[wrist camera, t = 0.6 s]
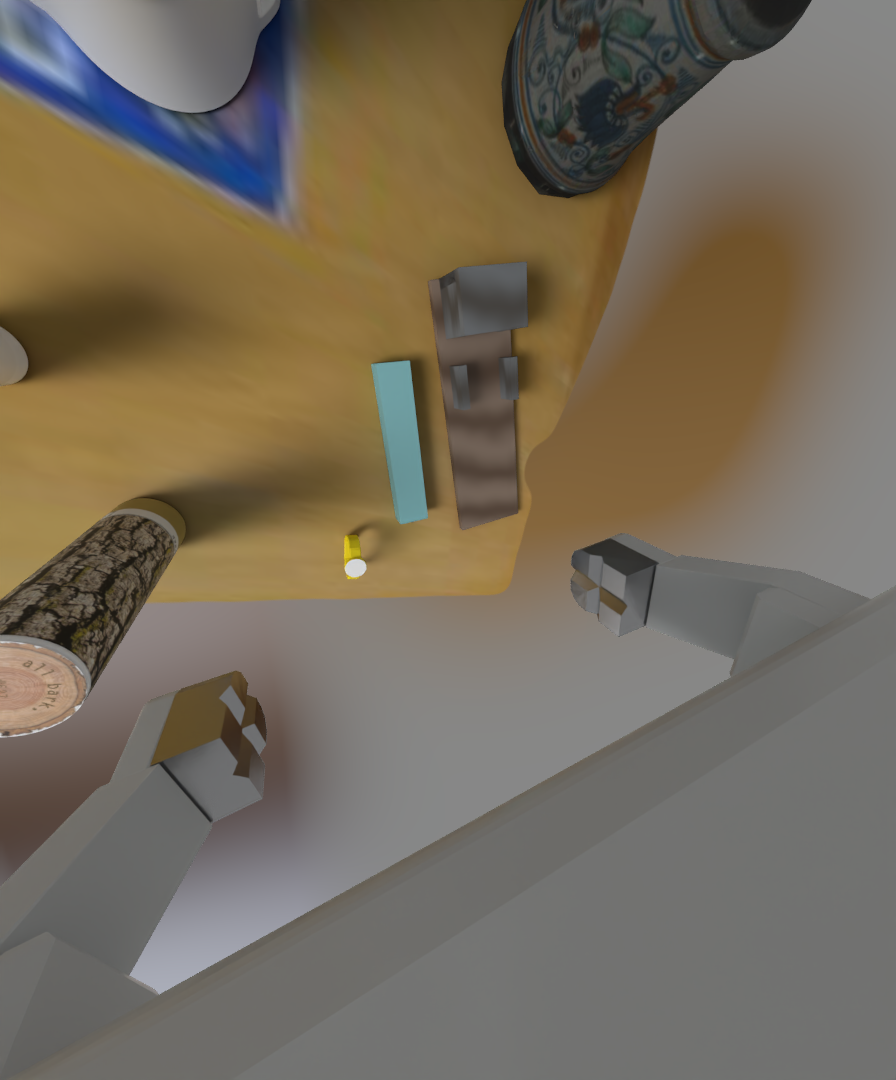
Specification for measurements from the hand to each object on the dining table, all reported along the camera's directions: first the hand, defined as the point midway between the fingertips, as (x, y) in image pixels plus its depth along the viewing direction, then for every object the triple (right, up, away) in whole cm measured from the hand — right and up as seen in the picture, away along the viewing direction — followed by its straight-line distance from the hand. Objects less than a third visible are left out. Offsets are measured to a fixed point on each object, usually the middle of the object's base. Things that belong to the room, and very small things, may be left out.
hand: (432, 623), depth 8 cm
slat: (-6, +15, +39) cm, 42 cm away
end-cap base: (+5, +19, +42) cm, 46 cm away
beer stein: (+13, +51, +30) cm, 61 cm away
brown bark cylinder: (-33, +4, +32) cm, 46 cm away
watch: (-14, +1, +42) cm, 45 cm away
